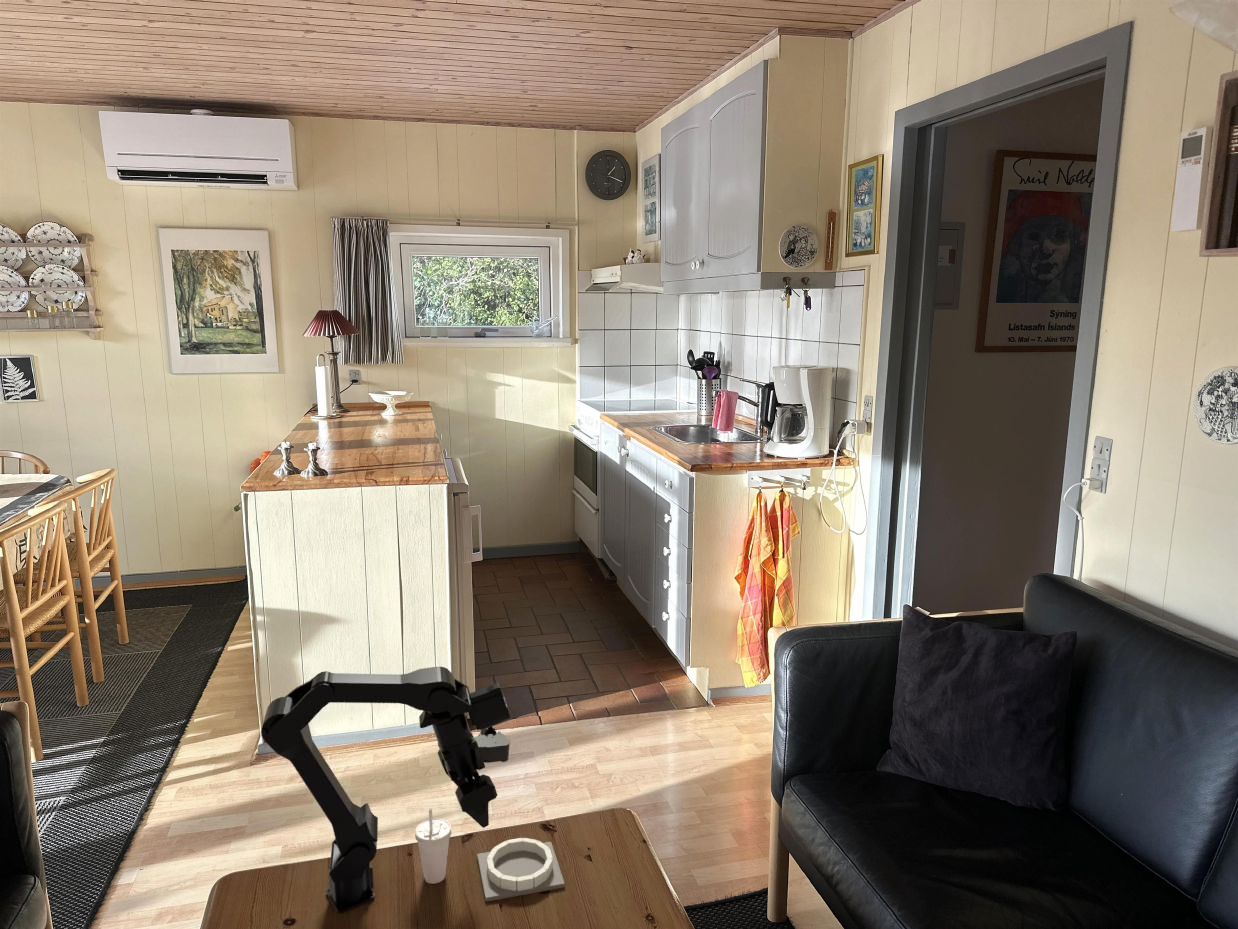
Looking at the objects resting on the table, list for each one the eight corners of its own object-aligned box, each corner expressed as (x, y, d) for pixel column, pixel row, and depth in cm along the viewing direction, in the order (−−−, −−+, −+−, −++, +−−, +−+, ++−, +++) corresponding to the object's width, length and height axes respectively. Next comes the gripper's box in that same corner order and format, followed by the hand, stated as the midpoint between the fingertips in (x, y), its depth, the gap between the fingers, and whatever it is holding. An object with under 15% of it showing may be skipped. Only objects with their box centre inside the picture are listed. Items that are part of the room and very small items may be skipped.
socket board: (485, 901, 149) (485, 887, 148) (477, 857, 160) (477, 844, 160) (564, 887, 153) (564, 873, 152) (551, 845, 164) (551, 832, 163)
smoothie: (409, 881, 154) (406, 811, 151) (432, 860, 159) (430, 793, 156) (437, 893, 151) (434, 822, 148) (460, 871, 156) (458, 803, 153)
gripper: (513, 742, 143) (537, 819, 147) (484, 696, 160) (506, 767, 164) (449, 771, 139) (475, 850, 143) (426, 721, 156) (450, 793, 160)
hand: (479, 812), depth 153 cm, fingers open, 9 cm apart
